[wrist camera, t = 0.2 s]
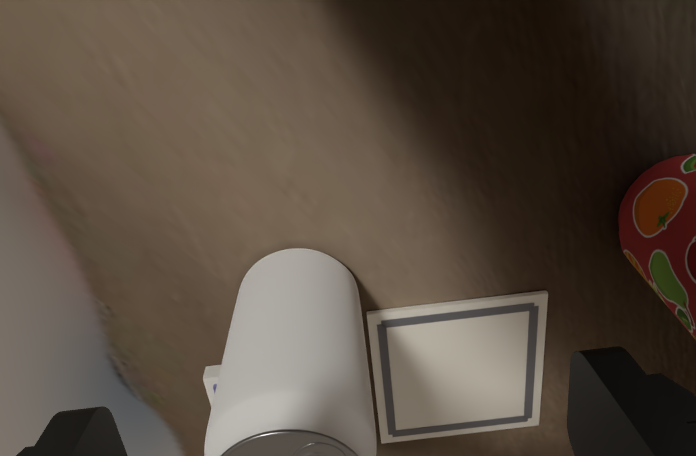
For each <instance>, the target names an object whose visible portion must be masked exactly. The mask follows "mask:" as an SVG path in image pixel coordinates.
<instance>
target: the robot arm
mask: <svg viewBox="0 0 696 456" xmlns="http://www.w3.org/2000/svg"><path fill="white" fill-rule="evenodd" d="M567 428H568V434H569V439H570V443H571V446H572V449H573V452H574V454H575V456H696V397H695V395H694V394H693V393H691V392H690V391H688V390H687V389H685V388H683V387H682V386H680V385H678V384H677V383H675V382H674V381H672V380H670V379H669V378H667V377H666V376H664V375H662V374H661V373H659V374H651V375H646V373H645V372H644V371H643V370H642V369H641V367H640V366H639V365H638V364H637V363H636V361H635V360H634V359H633V358H632V357H631V355H630V354H629V353H628V352H627V351H626V350H625V349H624V348H622V347H609V348H601V349H593V350H584V351H576V352H574V353H573V355H572V357H571V363H570V379H569V395H568V411H567ZM16 456H127V453H126V450H125V448H124V445H123V442H122V440H121V437H120V434H119V432H118V429H117V426H116V423H115V421H114V418H113V416H112V413H111V412H110V410H109V409H108V408H106V407H95V408H86V409H78V410H70V411H62V412H59V413H57V414H56V415H55V416H53V418H52V419H51V420H50V422H49V424H48V425H47V427H46V429H45V430H44V432H43V433H42V435H41V436H40V438H39V440H38V441H37V443H36V444H35V446H32V447H25V448H24V449H23V450H22V451H21V452H20V453H19V454H17V455H16Z"/></svg>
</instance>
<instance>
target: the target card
mask: <svg viewBox="0 0 696 456" xmlns="http://www.w3.org/2000/svg"><path fill="white" fill-rule="evenodd" d="M547 304H548V292H547V291H546V290H545V291H536V292H528V293H519V294H511V295H502V296H494V297H485V298H477V299H469V300H460V301H452V302H443V303H435V304H426V305H418V306H409V307H401V308H392V309H384V310H375V311H367V312H366V313H367V322H368V331H369V340H370V349H371V357H372V366H373V375H374V384H375V393H376V402H377V410H378V419H379V428H380V437H381V444H383V443H391V442H400V441H408V440H417V439H425V438H434V437H443V436H451V435H460V434H468V433H477V432H485V431H494V430H502V429H511V428H519V427H528V426H536V425H539V418H540V404H541V390H542V375H543V361H544V347H545V332H546V318H547Z"/></svg>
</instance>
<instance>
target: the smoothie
mask: <svg viewBox="0 0 696 456" xmlns="http://www.w3.org/2000/svg"><path fill="white" fill-rule="evenodd" d="M618 224H619V238H620V243H621V248H622V251H623V253H624V254H625V255H626V257H627V258H628V260H629V261H630V262H631V264H632V265H633V266H634V267H635V268H636V270H637V271H638V272H639V273H640V274H641V276H642V277H643V278H644V279H645V280H646V281H647V283H648V284H649V285H650V286H651V287H652V289H653V290H654V291H655V292H656V293H657V295H658V296H659V297H660V298H661V299H662V301H663V302H664V303H665V304H666V305H667V307H668V308H669V309H670V310H671V311H672V313H673V314H674V315H675V316H676V317H677V318H678V320H679V321H680V322H681V323H682V324H683V326H684V327H685V328H686V329H687V330H688V332H689V333H690V334H691V335H692V336H693V338H694V339H695V340H696V153H695V154H690V155H681V156H674V157H672V158H669V159H666V160H664V161H661V162H658V163H656V164H655V165H654V166H652V167H651V168H649V169H648V170H646V171H645V172H643V173H642V174H641V175H640V176H639V177H638V178H637V179H636V180H635V181H634V183H633V184H632V185H631V186H630V187H629V188H628V190H627V192H626V194H625V196H624V198H623V200H622V202H621V204H620V209H619V215H618Z"/></svg>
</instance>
